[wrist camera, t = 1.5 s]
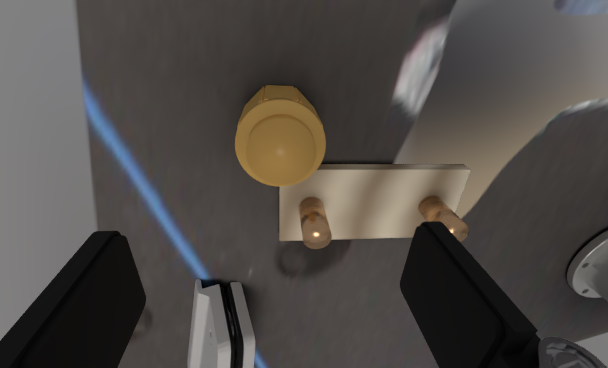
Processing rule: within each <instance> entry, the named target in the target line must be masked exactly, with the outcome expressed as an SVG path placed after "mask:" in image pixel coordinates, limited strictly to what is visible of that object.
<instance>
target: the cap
mask: <svg viewBox="0 0 608 368" xmlns="http://www.w3.org/2000/svg"><path fill="white" fill-rule="evenodd" d="M325 149H326V139H325V134H324V130H323V125H322V123H321V121H320V119H319V117H318V115H317V113H316V111H315V109H314V107H313V106H312V105H311V104H310V102H309V101H308V100H307V99H306V98H305V97H304V96H303V95H302V94H301V92H300V91H299V90H298V89H297V88H296V87H295V88H294V86H277V85H266V87H264V86H263V87H262V88H261V89H260V90H259V91H258V92H257V93H256V94H255V95H254V96H253V97H252V99H251V100H250V101H249V102H248V103H247V104H246V105H245V106H244V109H243V112H242V114H241V117H240V120H239V122H238V125H237V133H236V138H235V150H236V154H237V158H238V160H239V162H240V164H241V166H242V167H243V169H244V170H245V171H246V172H247V173H248V174H249V175H250V176H251V177H253V178H254V179H256V180H257V181H259V182H261V183H264V184H267V185H271V186H279V187H282V186H290V185H294V184H297V183H300V182H302V181H304V180H306V179H307V178H308V177H310V176H311V175H312V174H313V173H314V172H315V171H316V170H317V169H318V167H319V166H320V164H321V162H322V160H323V158H324V154H325Z"/></svg>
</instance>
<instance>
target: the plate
mask: <svg viewBox="0 0 608 368" xmlns="http://www.w3.org/2000/svg"><path fill="white" fill-rule="evenodd" d="M470 171H471V170H470V169H469V168H468V167H467V166H465V165H464V164H320V166H319V167H318V169H317V170H316V171H315V172H314V173H313V174H312V175H311V176H310V177H308V178H307V179H306V180H304V181H302V182H300V183H297V184H294V185H290V186H282V187H279V239H280V241H295V240H303V237H302V230H301V223H300V215H299V204H300V202H301V201H302V200H303V199H305V198H307V197H317V198H319V199H320V200H321V201H322V203H323V205H324V209H325V213H326V216H327V220H328V223H329V227H330V230H331V234H332V239H368V238H404V237H413V236H414V233H415V230H416V227H417V226H420V225H421V223H422V222H427V221H426V220H425V219H424V217H423V216H422V215H421V214H420V212H419V210H418V206H419V203H420V202H421V201H422V200H423V199H424V198H426V197H428V196H431V195H435V196H438V197H440V199H441V200H442V201H443V202H444V203H445V204H446V205H447V206H448V207H449V208H450V209H451V210H452V211H453V212H454V213H455V212H456V209H457V207H458V204H459V201H460V198H461V195H462V193H463V190H464V187H465V185H466V182H467V179H468V176H469V173H470Z"/></svg>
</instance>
